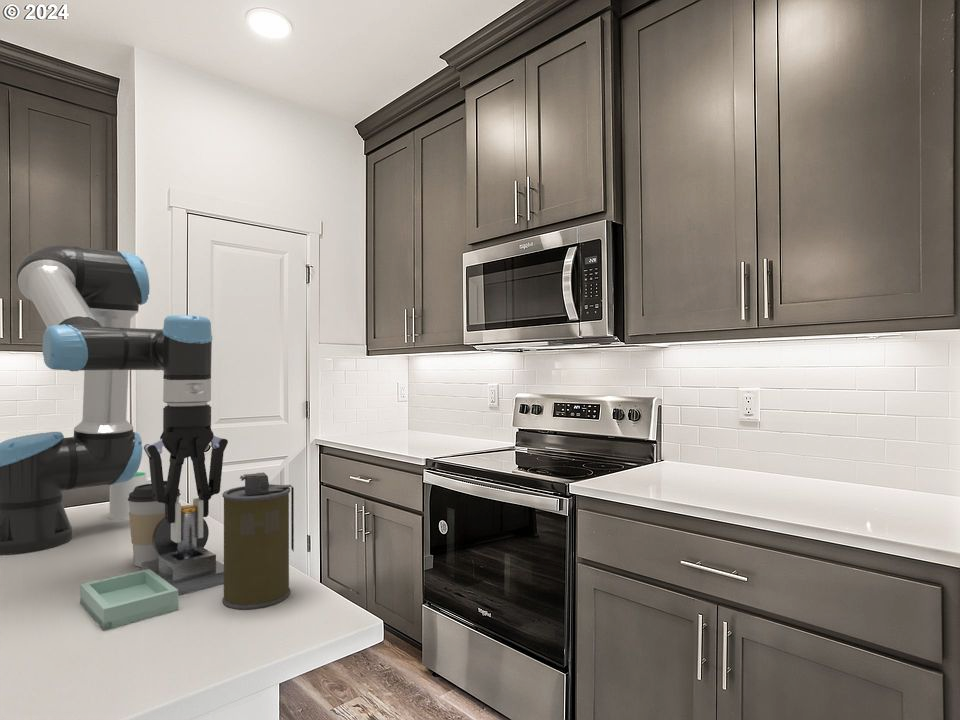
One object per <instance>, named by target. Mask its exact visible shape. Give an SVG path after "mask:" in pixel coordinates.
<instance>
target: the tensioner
mask: <svg viewBox="0 0 960 720" xmlns="http://www.w3.org/2000/svg"><path fill="white" fill-rule="evenodd" d="M209 531H210V530H209V525H208V523H207V521H206V519H204V518H203V538H197V557H192V558H188V559H183V560H177V543H175V542H174V541H172V540H171V523H170V524H169V523H167V522H166V521H165V517H164V518H163V519H162V520H161V521H160V522H159V523H158V524H157V526H156V528H155V530H154V533H153V537H152V543H153V547H154V549H155V551H156V552H157V553H158V554H159V559H156V560H151V561H147V562H142V563H141V567H140V568H141V570H140V571H142V570H146V569H150V570H152V571H153V572H154V573H156V574H157V575H158V576H160V577H161V578H162V579H164V580H165V581H167V582H168V583H169V584H171V585H172V586H173V587H175V588H176V589H177V590H178V596H181V595H185V594H189V593H193V592H197V591H200V590H205V589H209V588H212V587H215V586H219V585H224V563H222V562H219V560H217V554H216V553H214V552H212V551H210V550H208V549H206V548H205V546H206V545H207V542H208V539H209V534H210V532H209Z"/></svg>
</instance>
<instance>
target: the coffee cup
mask: <svg viewBox="0 0 960 720" xmlns="http://www.w3.org/2000/svg"><path fill="white" fill-rule="evenodd" d="M163 481H164V492H165V490H166V484H167V480H163ZM181 495H182V494H181V490H180V488H178V494H177V500H176V502H178V503H180V496H181ZM128 501H129V506H130V512H129V518H130V519H129V527H130V538H131V544H132V551H133V563H134V567H135V566H136V567H139V568H141V563H142V562H147V561H151V560H156V559H159V554H158V553H157V552H156V551H155V549H154V547H153V543H152V537H153V533H154V530H155V528H156V526H157V524H158V523H159V522H160V521H161V520H162V519H163V518H164V517H165V504H164V503H159V502H157V501H155V500H154V499H153V496H152V486H151V483H148V484H145V485H140V486H137V487H135V489H134V491H133V492H131V493H130V494H129V498H128Z"/></svg>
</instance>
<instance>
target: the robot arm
mask: <svg viewBox="0 0 960 720" xmlns="http://www.w3.org/2000/svg"><path fill="white" fill-rule="evenodd" d="M15 281H16V284H17V285H16V286H18V289H19V292H20V293H21V294H22V295H23V296H24V297H25V298H26V299H28V300H29V301H31V302H33V304H34V306H35V308H36V309H37V310H36V311H37V312H38V313H39V316H40V317H41V319H42V322H43V323H44V326H45V327H46V329H45V330H44V333H43V336H42V337H43V338H42V357H43V362H44V364H45V366H46V367H47V368H49V369H51V370H56V371H70V372H80V371H83V397H82V420H81V421H80V422H79V423H78V424H77V425H76V426H74V428H73V436H72V437H71V436H70V437H65V436H64V434H63V432H61V431H49V432H38V433H33V434H27V435H26V434H25V435H22V436H18V437H17V436H16V437H12V438H9V439H6V440H4V441H2V442H0V555H13V554H14V555H15V554H22V553H24V554H25V553H30V552H36V551H41V550H45V549H49V548H52V547H56V546H60V545H62V544H65V543H67V542H69V541H70V540H72V538H73V527H72V525H71V523H70V519H69V517H68V515H67V511H66V509H65V507H64V504H63V493H64V492H63V491H68V490H69V491H70V490H75V489H76V490H77V489H84V488H91V487H101V486H106V485H107V486H110V485H113V484H115V483H121V482H126V481H129V480H130V479H132V478H133V477H134V475H135V474H136V473H137V472H139V469H140V466H141V462H142V457H143V450H144V452H145V454H146V456H147V457H148V464H149V474H150V475H149V476H150V478H151V482H150V484H151V486H152V496H153V499H154V500H155V501H157V502H159V503H164V504H165V521H166V522H167V523H169V524H170V523H171V540H172V541H174V542H175V543H179V542H181V506H182V504H181V503H180V502H179V503H178V502H176V500H177V494H178V489H180V481H181V473H182V469H183V465H184V462H185V459H187V458H190V460H191V462H192V468H193V474H194V481H195V487H196V493H197V496H198V497H196V498H193V499H192V505H196V506H197V538H203V519H204V518H207V517H208V516H209V510H210V508H209V501H210V500H211V498H212V496H214V495H217V494H219V493H220V491H221V484H222V473H223V462H224V454H225V453H224V452H225V450H226V448H227V445H228V443H229V440H228V439H227V438H222V437H219V436H216V435H214V432H213V430H212V426H211V425H212V406H211V404H208V403H209V402H211V401H212V341H213V334H212V323H211V320H210V319H209V318H208V317H206V316H202V315H189V314H188V315H186V314H184V315H183V314H181V315H178V314H177V315H175V314H173V315H168V316H166V317H165V318H164V320H163V328H162V329H157V328H155V329H154V328H133V327H132V328H131V319H132V318H133V317H134V316H136V314H138V313H139V306H142V305H144V304H146V303H147V302H148V300H149V295H150V277H149V272H148V269H147V267H146V264H145V263H144V261H143V260H142V259H141V258H140V257H139V256H138V255H136V254H133V253H128V252H123V251H119V250H108V249H101V248H93V247H86V246H85V247H82V246H74V245H70V244H69V245H68V244H52V245H47V246H44V247H40V248H37V249H35V250H33V251H31V252H30V253H28V254H27V255H25V257H24V258H22V259H21V260H20V262H19V263H18V264H17V268H16V270H15ZM129 371H163V386H162V387H163V395H162V396H163V397H162V402H164V403H165V404H166V406H165V405H164V407H163V409H162V412H163V416H162V425H163V426H162V433H161V434H160V436H159V437H160V438H159V439H158V440H157V441H154V442H153V443H150V444H149V443H146V444H145V445H144V446H143V445H142V444H143V442H142V437H141V435H140V433H138V432H135V431H134V426H133V424H131V423H130V422H129V421H128V420H127V412H128V409H127V408H128V387H129V386H128V385H129ZM210 444H211V445H210ZM208 446H211V448H212V449H211V454H210V463H209V464H210V465H209V475H207V470H206V469H207V468H206V463H205V462H206V456H205V455H206V454H205V451H206V449H207V448H208ZM163 447H164V448H165V449H166V451H167V452H168V453H169V467H168V473H167V480H166V481H167V484H166V490H165V492H164V481H165V480H164V472H163V462H162V461H163V460H162V457H161V454H162V453H163Z"/></svg>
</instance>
